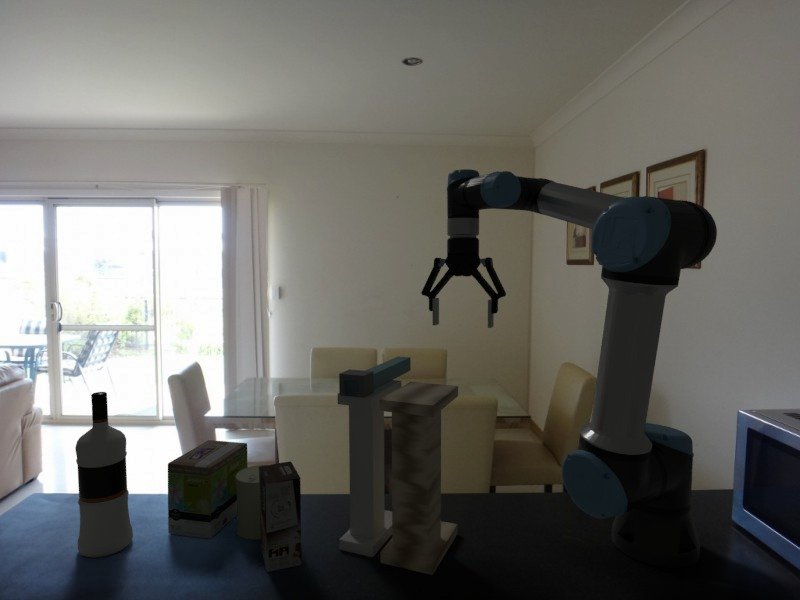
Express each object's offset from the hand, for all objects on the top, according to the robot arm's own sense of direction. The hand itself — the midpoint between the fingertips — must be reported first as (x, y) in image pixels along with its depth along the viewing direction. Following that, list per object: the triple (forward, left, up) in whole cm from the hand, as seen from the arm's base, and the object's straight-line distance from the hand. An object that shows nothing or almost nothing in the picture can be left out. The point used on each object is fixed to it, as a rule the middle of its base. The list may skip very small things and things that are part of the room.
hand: (462, 326), depth 127 cm
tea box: (+44, +38, -39) cm, 70 cm away
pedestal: (-1, +32, -39) cm, 50 cm away
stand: (+9, +31, -39) cm, 50 cm away
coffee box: (+22, +44, -39) cm, 63 cm away
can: (+32, +37, -39) cm, 62 cm away
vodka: (+55, +54, -39) cm, 86 cm away
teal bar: (+9, +26, -9) cm, 29 cm away
